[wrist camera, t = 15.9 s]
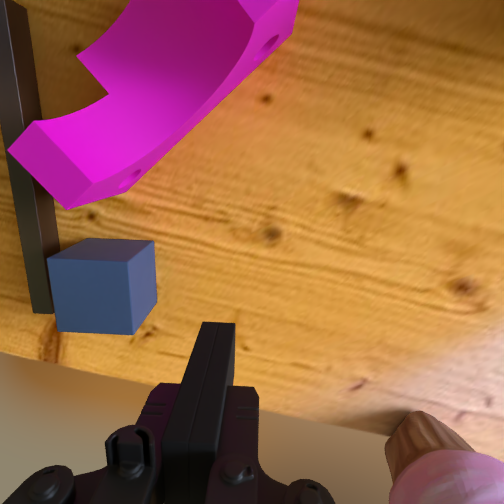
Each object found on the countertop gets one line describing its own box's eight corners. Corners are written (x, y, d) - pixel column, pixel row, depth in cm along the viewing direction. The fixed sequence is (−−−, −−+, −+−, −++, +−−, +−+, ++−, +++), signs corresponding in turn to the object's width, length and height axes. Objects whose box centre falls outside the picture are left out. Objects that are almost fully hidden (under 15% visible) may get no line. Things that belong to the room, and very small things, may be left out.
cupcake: (402, 376, 28) (474, 495, 18) (492, 415, 28) (608, 550, 19) (348, 452, 30) (386, 594, 21) (432, 486, 31) (507, 638, 21)
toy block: (224, -60, 20) (200, -180, 12) (291, 33, 21) (305, -27, 14) (59, 120, 23) (-36, 107, 16) (125, 191, 24) (66, 209, 17)
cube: (87, 237, 25) (45, 258, 20) (154, 240, 25) (127, 261, 20) (94, 299, 27) (57, 331, 22) (157, 302, 27) (133, 335, 22)
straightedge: (3, 7, 21) (-23, -7, 19) (27, 8, 21) (3, -6, 19) (49, 301, 27) (32, 313, 25) (67, 302, 27) (52, 314, 25)
